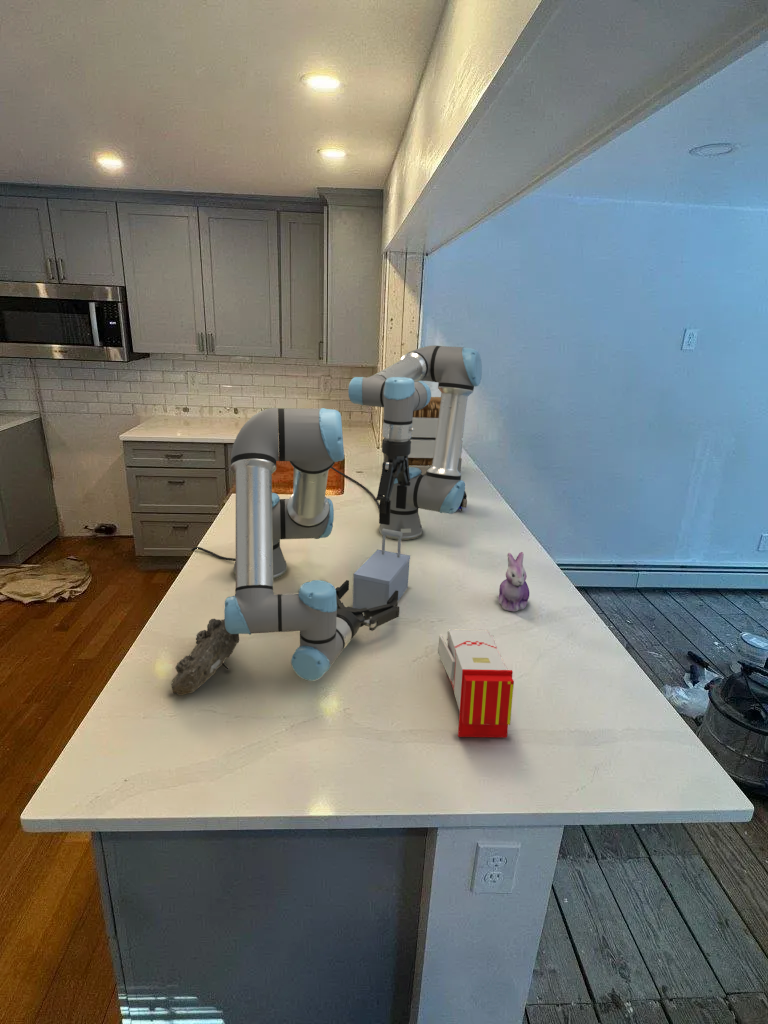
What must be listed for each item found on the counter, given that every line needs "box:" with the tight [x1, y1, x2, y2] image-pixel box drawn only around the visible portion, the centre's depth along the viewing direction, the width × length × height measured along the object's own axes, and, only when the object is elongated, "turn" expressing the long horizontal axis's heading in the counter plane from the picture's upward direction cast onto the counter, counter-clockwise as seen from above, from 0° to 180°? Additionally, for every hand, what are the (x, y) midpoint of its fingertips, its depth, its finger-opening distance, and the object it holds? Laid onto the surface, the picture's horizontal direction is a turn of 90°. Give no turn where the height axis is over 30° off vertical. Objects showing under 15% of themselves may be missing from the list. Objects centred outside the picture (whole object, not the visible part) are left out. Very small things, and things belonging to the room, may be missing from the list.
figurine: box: [497, 551, 530, 612], centre depth 152 cm, size 9×10×15 cm
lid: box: [352, 529, 411, 585], centre depth 151 cm, size 18×10×9 cm, turn 160°
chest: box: [352, 559, 411, 609], centre depth 154 cm, size 17×10×9 cm, turn 160°
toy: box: [437, 628, 515, 738], centre depth 117 cm, size 12×13×30 cm
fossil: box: [171, 618, 240, 696], centre depth 121 cm, size 22×10×15 cm
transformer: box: [383, 392, 465, 475], centre depth 268 cm, size 34×33×41 cm
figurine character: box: [457, 491, 468, 512], centre depth 228 cm, size 7×8×15 cm
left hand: (371, 589), depth 146 cm, fingers open, 13 cm apart
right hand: (392, 515), depth 154 cm, fingers open, 13 cm apart
